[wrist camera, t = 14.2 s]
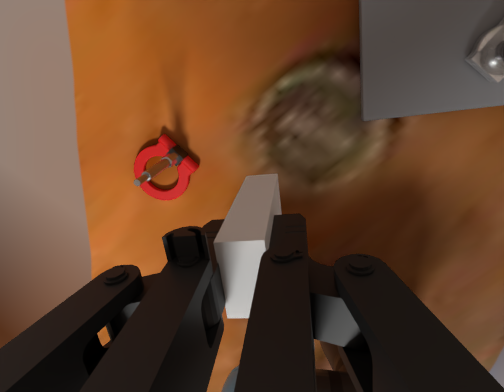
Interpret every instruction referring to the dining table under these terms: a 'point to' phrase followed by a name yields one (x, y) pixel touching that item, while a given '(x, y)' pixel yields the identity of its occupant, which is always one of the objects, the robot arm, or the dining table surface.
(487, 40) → the lever
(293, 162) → the dining table surface
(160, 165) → the tow hook
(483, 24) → the base plate
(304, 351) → the robot arm
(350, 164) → the dining table surface
